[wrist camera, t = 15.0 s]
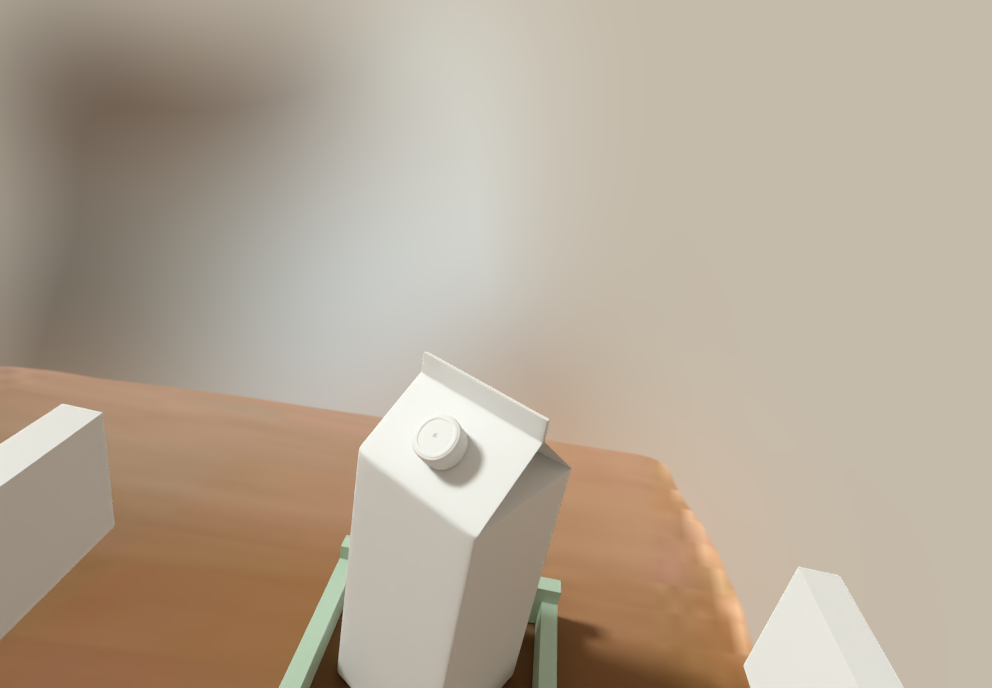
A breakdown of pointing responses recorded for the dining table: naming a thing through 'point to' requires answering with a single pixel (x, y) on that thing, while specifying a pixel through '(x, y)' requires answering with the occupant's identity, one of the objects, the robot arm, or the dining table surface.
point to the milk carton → (447, 536)
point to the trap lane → (331, 606)
